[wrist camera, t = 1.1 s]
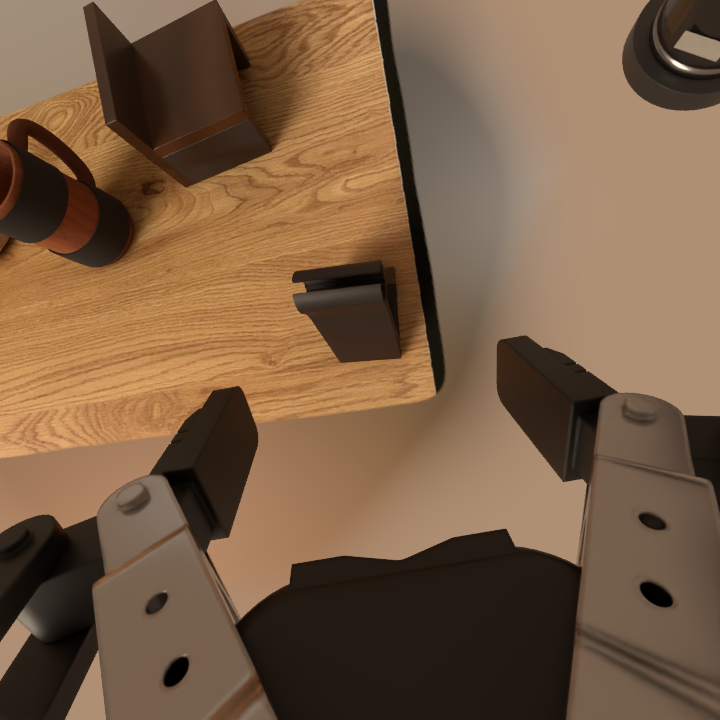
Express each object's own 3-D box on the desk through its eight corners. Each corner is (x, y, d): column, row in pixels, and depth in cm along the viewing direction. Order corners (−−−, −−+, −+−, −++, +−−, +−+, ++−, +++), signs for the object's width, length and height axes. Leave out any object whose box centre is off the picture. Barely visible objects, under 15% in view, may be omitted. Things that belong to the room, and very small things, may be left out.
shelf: (248, 56, 39) (186, -53, 29) (272, 151, 38) (216, 71, 28) (165, 95, 41) (82, 6, 31) (185, 188, 40) (105, 124, 30)
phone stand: (336, 274, 35) (289, 222, 24) (395, 267, 34) (376, 208, 22) (341, 363, 35) (294, 353, 23) (401, 358, 34) (384, 347, 22)
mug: (141, 169, 41) (29, 87, 30) (134, 268, 40) (17, 224, 29) (81, 175, 43) (-46, 101, 32) (74, 271, 42) (-58, 230, 31)
